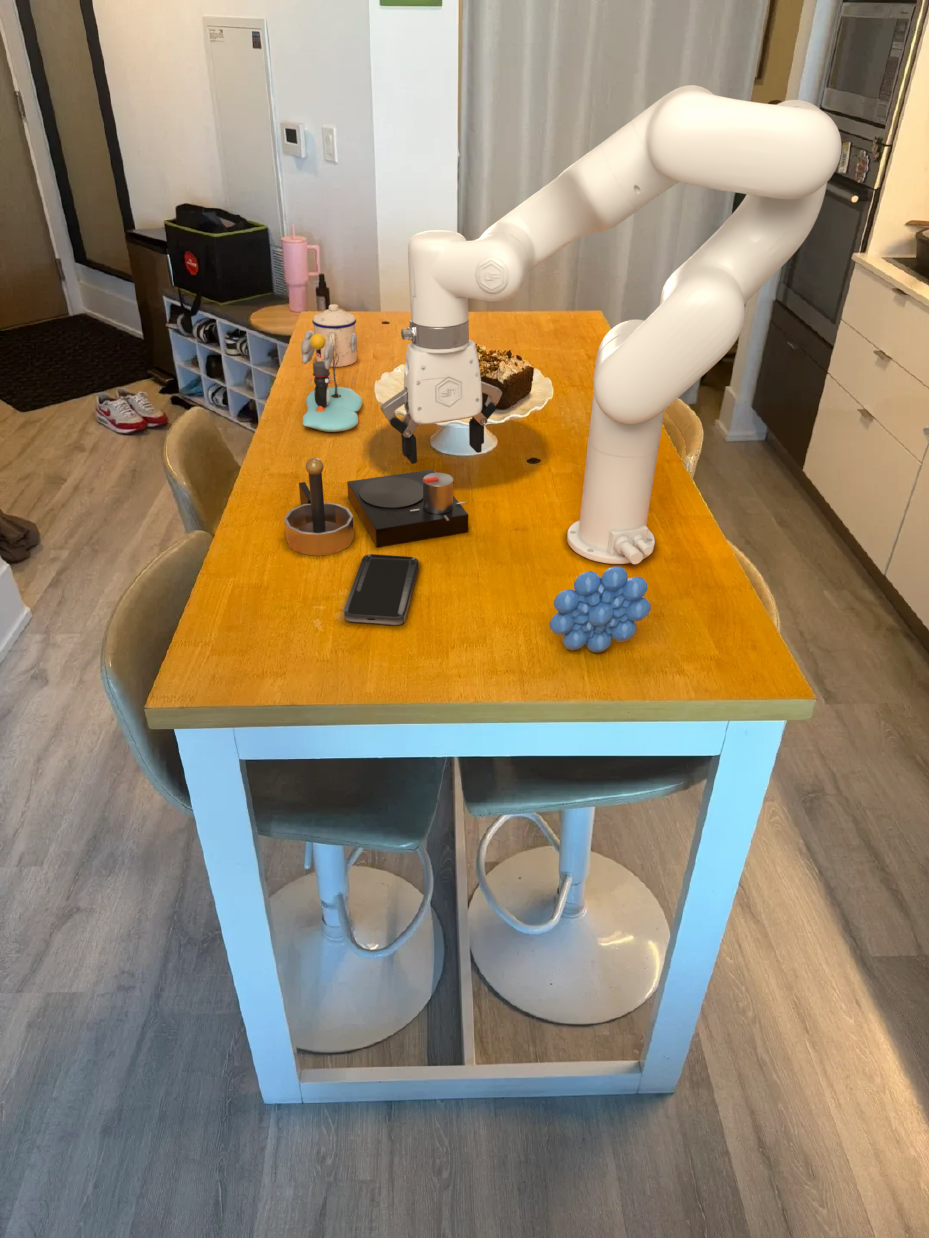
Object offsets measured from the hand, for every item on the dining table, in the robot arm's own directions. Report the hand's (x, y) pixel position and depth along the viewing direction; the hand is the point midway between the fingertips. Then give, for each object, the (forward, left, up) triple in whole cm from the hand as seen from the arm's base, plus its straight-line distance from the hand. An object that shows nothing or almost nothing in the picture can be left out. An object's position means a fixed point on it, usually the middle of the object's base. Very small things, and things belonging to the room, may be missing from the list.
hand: (443, 454), depth 128 cm
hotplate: (+5, +4, -12) cm, 13 cm away
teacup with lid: (+74, -2, -12) cm, 75 cm away
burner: (+7, +6, -9) cm, 12 cm away
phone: (-15, +14, -12) cm, 23 cm away
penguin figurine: (+47, +5, -12) cm, 48 cm away
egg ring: (+5, +18, -11) cm, 22 cm away
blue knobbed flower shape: (-35, -7, -12) cm, 37 cm away
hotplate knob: (0, +1, -8) cm, 8 cm away
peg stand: (+2, +18, -12) cm, 22 cm away
